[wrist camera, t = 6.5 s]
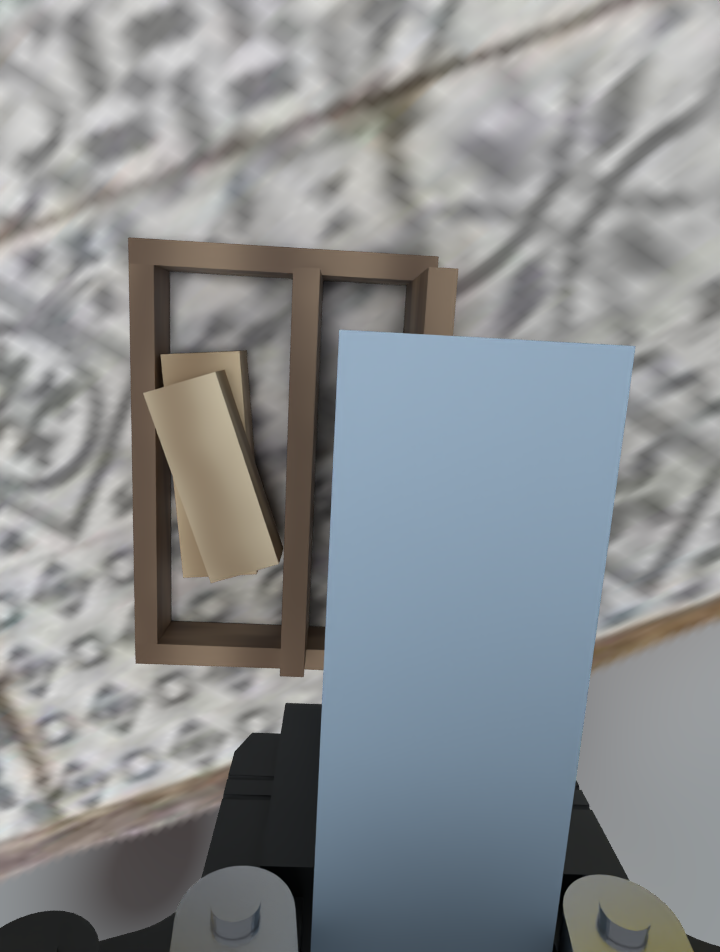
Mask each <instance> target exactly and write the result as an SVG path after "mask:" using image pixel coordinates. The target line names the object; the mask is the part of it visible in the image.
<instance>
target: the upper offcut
mask: <svg viewBox="0 0 720 952" xmlns="http://www.w3.org/2000/svg"><path fill="white" fill-rule="evenodd" d="M143 394H144V397H145V400H146V403H147V406H148V408H149V411H150V414H151V417H152V420H153V422H154V425H155V428H156V431H157V434H158V436H159V439H160V442H161V445H162V447H163V450H164V453H165V456H166V459H167V461H168V464H169V467H170V470H171V473H172V475H173V478H174V481H175V484H176V487H177V489H178V492H179V495H180V498H181V501H182V503H183V506H184V509H185V512H186V515H187V517H188V520H189V523H190V526H191V529H192V531H193V534H194V537H195V540H196V543H197V545H198V548H199V551H200V554H201V557H202V559H203V562H204V565H205V568H206V571H207V573H208V576H209V579H210V582H211V583H214V582H217V581H221V580H224V579H228V578H231V577H235V576H238V575H242V574H246V573H249V572H253V571H256V570H260V569H263V568H267V567H270V566H274V565H277V564H279V562H280V558H281V555H282V551H283V546H282V543H281V540H280V537H279V534H278V531H277V528H276V525H275V522H274V519H273V516H272V513H271V509H270V506H269V503H268V500H267V497H266V494H265V491H264V488H263V485H262V482H261V479H260V476H259V473H258V470H257V467H256V464H255V461H254V458H253V455H252V452H251V448H250V445H249V442H248V439H247V436H246V433H245V430H244V427H243V424H242V421H241V418H240V415H239V412H238V409H237V406H236V403H235V400H234V397H233V394H232V391H231V387H230V384H229V381H228V378H227V375H226V372H225V370H221V371H217V372H213V373H210V374H206V375H203V376H200V377H196V378H193V379H189V380H186V381H183V382H179V383H176V384H172V385H169V386H166V387H162V388H159V389H155V390H152V391H149V392H145V393H143Z"/></svg>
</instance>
